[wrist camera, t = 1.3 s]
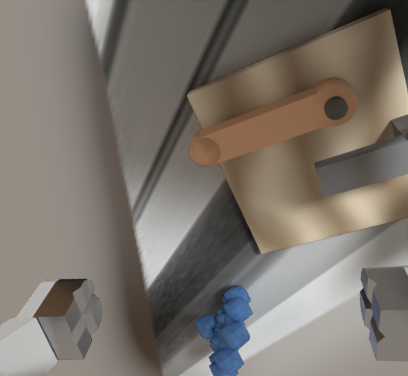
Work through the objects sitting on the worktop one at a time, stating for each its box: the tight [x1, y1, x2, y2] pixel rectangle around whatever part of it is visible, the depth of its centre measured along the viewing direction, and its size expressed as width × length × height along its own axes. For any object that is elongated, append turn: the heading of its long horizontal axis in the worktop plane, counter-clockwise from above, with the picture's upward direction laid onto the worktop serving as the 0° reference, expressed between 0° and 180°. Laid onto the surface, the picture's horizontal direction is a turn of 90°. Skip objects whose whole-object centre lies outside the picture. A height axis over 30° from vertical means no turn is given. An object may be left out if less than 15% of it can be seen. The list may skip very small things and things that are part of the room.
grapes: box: [195, 286, 253, 376], centre depth 44 cm, size 12×7×12 cm, turn 170°
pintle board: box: [187, 8, 408, 254], centre depth 35 cm, size 18×20×6 cm
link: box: [189, 77, 358, 167], centre depth 34 cm, size 15×4×2 cm, turn 115°
